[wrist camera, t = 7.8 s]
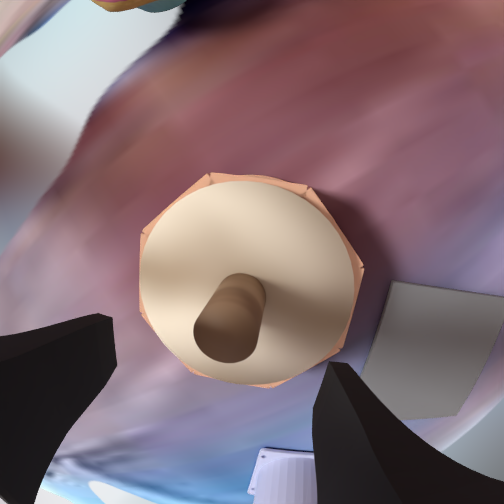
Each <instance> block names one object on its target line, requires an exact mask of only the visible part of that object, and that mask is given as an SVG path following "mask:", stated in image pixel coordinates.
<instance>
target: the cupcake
mask: <svg viewBox="0 0 504 504" xmlns="http://www.w3.org/2000/svg"><path fill="white" fill-rule="evenodd" d="M185 1H186V0H92V2H94V3H96V4H97V5H99V6H101V7H102V8H104V9H105V10H107V11H110V12H119V11H125V10H129V9H134V8H139V9H142V10H144V11H147V12H154V13H155V12H163V11H167V10H170V9H173V8H175V7H177V6H179V5H181V4H182V3H184V2H185Z"/></svg>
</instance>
